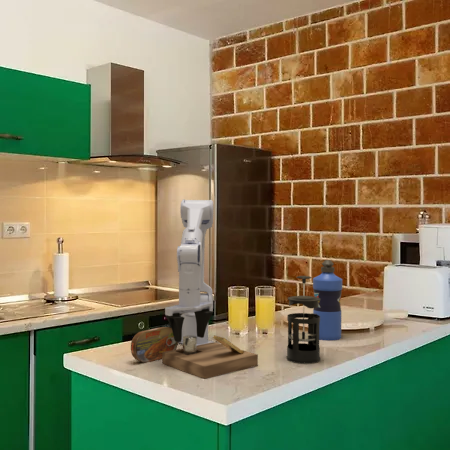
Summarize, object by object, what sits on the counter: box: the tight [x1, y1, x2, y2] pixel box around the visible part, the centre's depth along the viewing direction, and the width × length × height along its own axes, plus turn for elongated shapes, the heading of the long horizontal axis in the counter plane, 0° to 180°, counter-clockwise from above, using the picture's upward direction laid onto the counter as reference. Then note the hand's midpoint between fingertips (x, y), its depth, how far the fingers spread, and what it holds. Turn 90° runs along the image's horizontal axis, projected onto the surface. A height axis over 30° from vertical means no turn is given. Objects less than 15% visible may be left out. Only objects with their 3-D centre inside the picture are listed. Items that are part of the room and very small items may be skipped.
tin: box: [130, 326, 179, 364], centre depth 157 cm, size 15×3×8 cm, turn 136°
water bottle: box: [312, 259, 343, 341], centre depth 184 cm, size 9×9×25 cm
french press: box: [285, 275, 321, 365], centre depth 158 cm, size 12×9×23 cm
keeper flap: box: [212, 335, 245, 354], centre depth 150 cm, size 4×8×1 cm
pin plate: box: [161, 341, 259, 379], centre depth 151 cm, size 18×18×3 cm
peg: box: [182, 335, 197, 355], centre depth 153 cm, size 4×4×7 cm
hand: (189, 339), depth 153 cm, fingers open, 7 cm apart
